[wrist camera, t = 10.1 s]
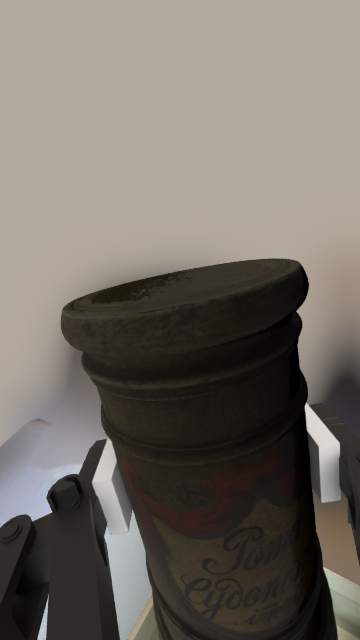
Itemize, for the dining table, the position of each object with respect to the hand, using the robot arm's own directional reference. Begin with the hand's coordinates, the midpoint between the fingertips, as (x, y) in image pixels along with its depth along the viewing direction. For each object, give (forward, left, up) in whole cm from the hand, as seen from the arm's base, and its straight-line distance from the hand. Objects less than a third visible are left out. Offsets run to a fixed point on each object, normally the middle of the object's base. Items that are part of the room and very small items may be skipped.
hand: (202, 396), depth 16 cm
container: (+3, -4, -10) cm, 11 cm away
